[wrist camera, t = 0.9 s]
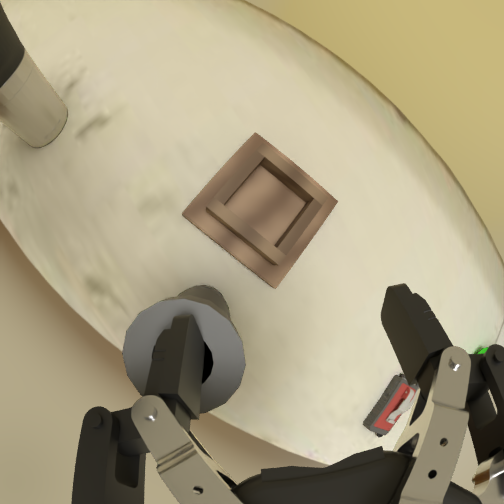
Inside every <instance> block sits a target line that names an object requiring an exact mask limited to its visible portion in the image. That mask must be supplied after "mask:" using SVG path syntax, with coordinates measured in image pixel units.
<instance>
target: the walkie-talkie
mask: <svg viewBox="0 0 504 504" xmlns="http://www.w3.org/2000/svg"><path fill="white" fill-rule="evenodd" d="M418 389H419V385H418V383H416V384H413V385H410V386H409V385H408V382H407V380H406V377H405V375H404V374H401V377H399V376H397V375H395V376H394V377H393V379H392V380H391V382H390V384H389V385H388V387H387V388H386V390H385V391H384V393H383V394H382V396H381V398H380V399H379V400H378V402H377V404H376V405H375V407H373V409H372V411H371V412H370V414H368V416H367V418H366V419H365V420H364V421H363V425H364V426H365V427H367V428H368V429H369V430H370V431H372V432H375V433H377V436H378V437H382V436H383V435H386V434H387V433H388V432H389V431H390V430H391V428H392V427H393V426H394V424H395V423H396V422H397V420H398V419H399V417H400V416H401V414H403V413H404V412H406V411H407V410H408V409H410V407H411V406H412V404H413V403H414V401H415V398H416V395H417V392H418Z"/></svg>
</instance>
